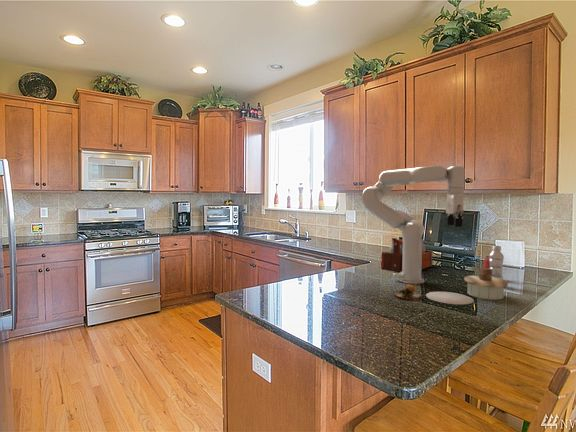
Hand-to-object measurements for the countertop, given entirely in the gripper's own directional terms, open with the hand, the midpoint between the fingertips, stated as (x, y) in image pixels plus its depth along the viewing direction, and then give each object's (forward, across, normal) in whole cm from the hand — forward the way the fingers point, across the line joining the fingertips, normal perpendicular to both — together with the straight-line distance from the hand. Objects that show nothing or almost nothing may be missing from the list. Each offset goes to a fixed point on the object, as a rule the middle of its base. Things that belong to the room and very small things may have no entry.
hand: (454, 225), depth 170 cm
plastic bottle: (+31, -3, +22) cm, 38 cm away
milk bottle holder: (+31, -45, -10) cm, 56 cm away
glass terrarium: (+31, +22, -28) cm, 47 cm away
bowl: (+30, +16, +8) cm, 35 cm away
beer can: (+31, -18, +27) cm, 45 cm away
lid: (+24, +16, +8) cm, 30 cm away
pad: (+30, +22, -10) cm, 39 cm away
